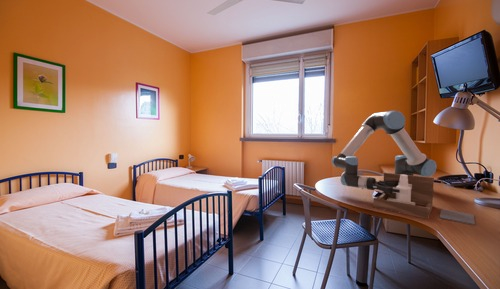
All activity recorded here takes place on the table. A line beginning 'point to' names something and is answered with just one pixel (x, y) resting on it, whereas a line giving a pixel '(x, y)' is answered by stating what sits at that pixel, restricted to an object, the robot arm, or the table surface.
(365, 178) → the robot arm
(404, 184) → the spray bottle
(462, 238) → the table surface
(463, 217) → the mat
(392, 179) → the rack
